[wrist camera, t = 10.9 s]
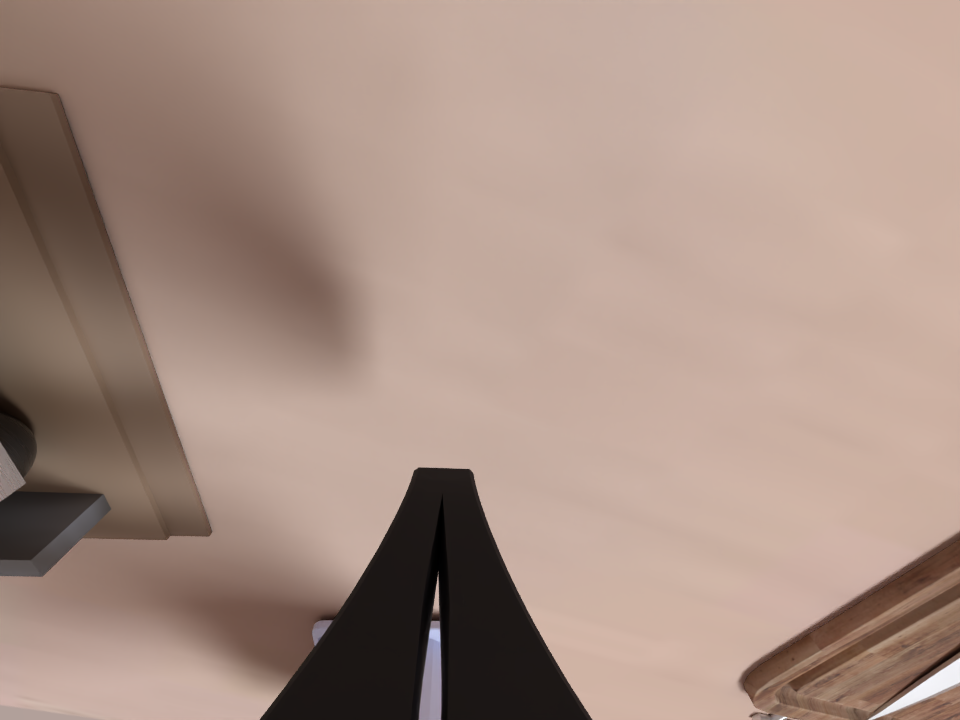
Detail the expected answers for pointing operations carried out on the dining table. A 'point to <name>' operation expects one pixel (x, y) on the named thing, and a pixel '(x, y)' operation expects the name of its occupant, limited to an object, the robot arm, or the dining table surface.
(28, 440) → the trolley
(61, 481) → the dock bay
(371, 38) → the dining table surface
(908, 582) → the chopping board
